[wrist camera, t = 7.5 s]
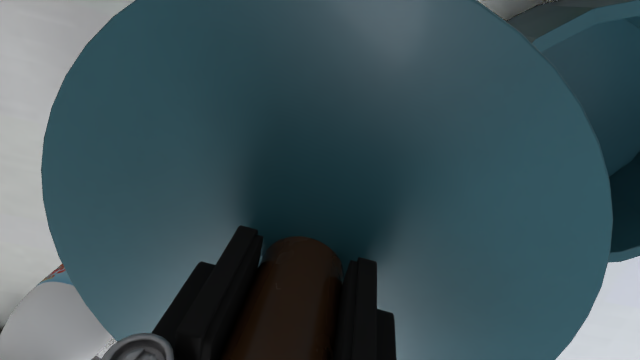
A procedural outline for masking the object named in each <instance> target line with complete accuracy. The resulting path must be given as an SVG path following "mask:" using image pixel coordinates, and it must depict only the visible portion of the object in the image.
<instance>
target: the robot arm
mask: <svg viewBox="0 0 640 360" xmlns="http://www.w3.org/2000/svg"><path fill="white" fill-rule="evenodd" d="M262 243H263V236H260V235H258V230H257V229H253V228H249V227H246V226H242V225H240V226H239V227H238V228H237V230H236V232H235V233H234V235H233V237H232V238H231V240H230V242H229V243H228V245H227V247H226V248H225V250H224V252H223V253H222V255H221V257H220V258H219V260H218V262H217V263H216V265H214V264H210V263H206V262H203V261H201V262H199V263H198V264H197V266H196V267H195V269H194V270H193V272H192V273H191V275H190V276H189V278H188V279H187V281H186V282H185V284H184V285H183V287H182V288H181V290H180V291H179V293H178V294H177V295H176V297H175V298H174V300H173V301H172V303H171V304H170V306H169V307H168V309H167V310H166V312H165V313H164V315H163V316H162V318H161V319H160V321H159V322H158V324H157V325H156V327H155V328H154V330H153V331H152V333H140V334H134V335H131V336H128V337H126V338H123V339H121V340H120V341H118V342H117V343H115V344H114V345H112V347H111V348H110V349H109V350H108V351H107V352H106V353H105V355H104V356H103V358H102V359H101V360H218V358H219V356H220V354H221V352H222V349H223V347H224V345H225V342H226V340H227V338H228V336H229V333H230V331H231V329H232V326H233V324H234V322H235V320H236V317H237V315H238V313H239V310H240V308H241V306H242V304H243V301H244V299H245V297H246V294H247V292H248V290H249V288H250V285H251V283H252V281H253V279H254V276H255V274H256V272H257V269H258V264H259V259H260V254H261V248H262ZM333 360H396V339H395V320H394V315H393V313H391V312H387V311H383V310H380V309H377V262H376V261H372V260H369V259H365V258H361V257H358V259H357V261H353V260H350V263H349V266H348V269H347V272H346V275H345V278H344V281H343V284H342V290H341V298H340V306H339V314H338V322H337V330H336V338H335V346H334V354H333Z"/></svg>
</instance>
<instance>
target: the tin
mask: <svg viewBox="0 0 640 360" xmlns="http://www.w3.org/2000/svg"><path fill="white" fill-rule="evenodd" d="M507 22H508V23H509V24H510V25H512V26H513V27H514V28H516V29H517V30H519V31H520V32H521V33H522V34H523V35H524V36H525V37H526V38H527V39H528V40H529V41H530V42H531V43H532V44H533V45H534V46H535V47H536V48H537V49H538V50H539V51H540V52H541V53H542V54H543V55H544V56H545V57H546V58H547V59H548V60H549V61H550V62H551V63H552V64H553V65H554V66H555V68H556V69H557V71H558V72H559V73H560V75H561V76H562V78H563V79H564V80H565V82H566V83H567V85H568V86H569V88H570V89H571V90H572V92H573V93H574V95H575V96H576V97H577V99H578V100H579V102H580V103H581V105H582V107H583V109H584V111H585V113H586V116H587V118H588V120H589V122H590V124H591V126H592V128H593V130H594V132H595V134H596V137H597V139H598V141H599V144H600V147H601V151H602V154H603V158H604V162H605V165H606V169H607V173H608V176H609V180H610V189H611V200H612V211H613V227H612V238H611V249H610V256H609V260H608V262H621V261H624V260H628V259H631V258H634V257H637V256H640V0H560V1H555V2H551V3H546V4H542V5H538V6H536V7H534V8H532V9H529V10H527V11H525V12H523V13H521V14H519V15H517V16H515V17H513V18H512V19H510V20H509V21H507Z"/></svg>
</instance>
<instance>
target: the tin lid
mask: <svg viewBox="0 0 640 360" xmlns="http://www.w3.org/2000/svg"><path fill="white" fill-rule="evenodd" d="M41 173H42V189H43V201H44V206H45V211H46V216H47V221H48V225H49V230H50V232H51V235H52V238H53V241H54V244H55V247H56V250H57V253H58V256H59V258H60V260H61V262H62V264H63V266H64V268H65V270H66V272H67V274H68V276H69V278H70V280H71V282H72V284H73V285H74V287H75V288H76V290H77V292H78V293H79V295H80V296H81V298H82V299H83V301H84V303H85V304H86V306H87V307H88V308H89V309H90V311H91V312H92V313H93V315H94V316H95V317H96V318H97V320H98V321H99V322H100V323H101V325H102V326H103V327H104V328H105V329H106V330H107V331H108V332H109V333H110V334H111V336H112V337H113V338H114V339H115V340H116V341H117V342H118V341H120V340H121V339H123V338H126V337H128V336H131V335H134V334H140V333H152V331H153V330H154V328H155V327H156V325H157V324H158V322H159V321H160V319H161V318H162V316H163V315H164V313H165V312H166V310H167V309H168V307H169V306H170V304H171V303H172V301H173V300H174V298H175V297H176V295H177V294H178V293H179V291H180V290H181V288H182V287H183V285H184V284H185V282H186V281H187V279H188V278H189V276H190V275H191V273H192V272H193V270H194V269H195V267H196V266H197V264H198V263H199V262H201V261H203V262H206V263H210V264H214V265H216V263H217V262H218V260H219V258H220V257H221V255H222V253H223V252H224V250H225V248H226V247H227V245H228V243H229V242H230V240H231V238H232V237H233V235H234V233H235V232H236V230H237V228H238V227H239V226H240V225H242V226H246V227H249V228H253V229H257V230H258V235H260V236H263V243H262V248H261V254H260V259H259V264H258V269H257V272H256V274H255V276H254V279H253V281H252V283H251V285H250V288H249V290H248V292H247V294H246V297H245V299H244V301H243V304H242V306H241V308H240V310H239V313H238V315H237V317H236V320H235V322H234V324H233V326H232V329H231V331H230V333H229V336H228V338H227V340H226V342H225V345H224V347H223V349H222V352H221V354H220V356H219V358H218V360H333V354H334V346H335V338H336V330H337V322H338V314H339V306H340V298H341V290H342V284H343V281H344V278H345V275H346V272H347V269H348V266H349V263H350V260H353V261H357V259H358V257H361V258H365V259H369V260H372V261H376V262H377V309H380V310H383V311H387V312H391V313H393V315H394V320H395V339H396V360H555V359H556V358H557V357H558V356H559V355H560V354H561V352H562V351H563V350H564V349H565V348H566V347H567V346H568V345H569V344H570V342H571V341H572V340H573V338H574V336H575V335H576V333H577V332H578V330H579V329H580V327H581V326H582V324H583V323H584V321H585V320H586V318H587V317H588V315H589V313H590V311H591V308H592V306H593V304H594V302H595V300H596V297H597V295H598V293H599V291H600V289H601V286H602V283H603V279H604V275H605V271H606V268H607V264H608V260H609V256H610V249H611V238H612V227H613V211H612V200H611V189H610V180H609V176H608V173H607V169H606V165H605V162H604V158H603V154H602V151H601V147H600V144H599V141H598V139H597V137H596V134H595V132H594V130H593V128H592V126H591V124H590V122H589V120H588V118H587V116H586V113H585V111H584V109H583V107H582V105H581V103H580V102H579V100H578V99H577V97H576V96H575V95H574V93H573V92H572V90H571V89H570V88H569V86H568V85H567V83H566V82H565V80H564V79H563V78H562V76H561V75H560V73H559V72H558V71H557V69H556V68H555V66H554V65H553V64H552V63H551V62H550V61H549V60H548V59H547V58H546V57H545V56H544V55H543V54H542V53H541V52H540V51H539V50H538V49H537V48H536V47H535V46H534V45H533V44H532V43H531V42H530V41H529V40H528V39H527V38H526V37H525V36H524V35H523V34H522V33H521V32H520V31H519V30H517V29H516V28H514V27H513V26H512V25H510V24H509V23H508V22H506V21H505V20H503V19H502V18H501V17H499V16H498V15H497V14H495V13H494V12H492V11H491V10H490V9H488V8H487V7H486V6H484V5H483V4H481V3H480V2H478V1H476V0H135V1H134V2H132V3H131V4H130V5H128V6H127V7H126V8H124V9H123V10H122V11H120V12H119V13H118V14H116V15H115V16H113V17H112V18H111V19H110V20H109V22H108V23H107V24H106V25H105V26H104V27H103V28H102V29H101V30H100V31H99V32H98V33H97V34H96V35H95V36H94V37H93V38H92V39H91V40H90V41H89V42H88V44H87V45H86V46H85V47H84V49H83V50H82V52H81V53H80V55H79V56H78V58H77V59H76V61H75V62H74V64H73V65H72V67H71V68H70V70H69V71H68V73H67V74H66V76H65V78H64V81H63V83H62V85H61V87H60V90H59V92H58V94H57V96H56V99H55V101H54V103H53V105H52V108H51V112H50V116H49V120H48V124H47V128H46V132H45V136H44V144H43V155H42V166H41Z"/></svg>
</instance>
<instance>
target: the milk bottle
mask: <svg viewBox="0 0 640 360" xmlns="http://www.w3.org/2000/svg"><path fill="white" fill-rule="evenodd" d="M112 338H113V337H112V336H111V334H110V333H109V332H108V331H107V330H106V329H105V328H104V327H103V326H102V325H101V323H100V322H99V321H98V320H97V318H96V317H95V316H94V315H93V313H92V312H91V311H90V309H89V308H88V307H87V306H86V304H85V303H84V301H83V299H82V298H81V296H80V295H79V293H78V292H77V290H76V288H75V287H74V285H73V284H72V282H71V280H70V278H69V276H68V274H67V272H66V270H65V268H64V266H63V264H62V265H60V266H59V267H58V268H57V269H56V270H54V271H53V272H52V273H51V274H50V275H48V276H47V277H46V278H45V279H44V280H43V281H41V282H40V283H39V284H38V285H37V286H36V287H35V288H34V289H33V290H31V291H30V292H29V293H28V294H27V295H26V296H25V297H24V298H23V300H22V301H21V302H20V303H19V304H18V305H17V307H16V308H15V309H14V311H13V312H12V314H11V315H10V317H9V318H8V320H7V322H6V324H5V326H4V328H3V330H2V332H1V334H0V360H91V359H92V358H94V357H95V356H96V355H97V354H98V353H99V352H100V351H101V350H102V349H103V348H104V347H105V346H106V345H107V344H108V342H109V341H110V340H111V339H112Z"/></svg>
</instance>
